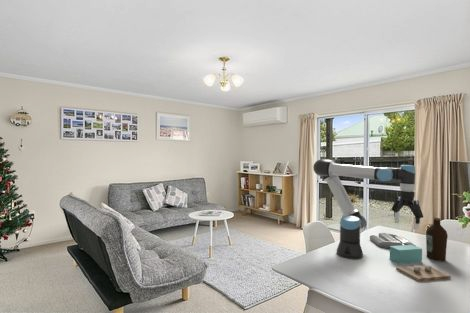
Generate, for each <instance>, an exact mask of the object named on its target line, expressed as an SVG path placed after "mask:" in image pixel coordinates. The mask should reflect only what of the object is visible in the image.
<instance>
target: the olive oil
mask: <svg viewBox="0 0 470 313" xmlns="http://www.w3.org/2000/svg"><path fill="white" fill-rule="evenodd" d="M448 237H449V236H448V232H447V230H446V228H444V227H443V226H442V225H441V218H440V217H433V224H431V225H430V226H428V227H427V229H426V231H425V241H426V242H425V243H426V258H427V259H429V260H432V261H436V262H445V261H446V259H447V258H446V257H447V244H448Z"/></svg>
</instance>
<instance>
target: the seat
mask: <svg viewBox="0 0 470 313" xmlns="http://www.w3.org/2000/svg"><path fill="white" fill-rule="evenodd" d="M395 270H396V271H397V272H400V273H402V274H403V275H404V276H407V277H409V278H411V279H412V280H414V281H416V282H430V281H441V280H449V279H451V278H452V275H451V274H449V273H446V272H443V271H442V270H440V269H437V268H435V267H432V266H431V265H429V264H418V265H417V264H416V265H405V266H396V267H395Z"/></svg>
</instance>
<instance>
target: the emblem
mask: <svg viewBox="0 0 470 313" xmlns="http://www.w3.org/2000/svg"><path fill="white" fill-rule="evenodd" d="M369 240H370V241H371V242H373V243H374V244H375V245H376V246H378V247H380V248H384V249H388V250H390V246H400V245H414V246H416V247H418V246H417V245H416V244H414V243H413V242H411V241H409V240H408V239H406V238H405V237H402V236H401V235H398V234H397V235H396V234H393V233H387V232H382V233H381V232H379V233H378V236H377V235H375V234H374V235H373V234H371V235H369Z"/></svg>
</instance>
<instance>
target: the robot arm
mask: <svg viewBox="0 0 470 313" xmlns="http://www.w3.org/2000/svg"><path fill="white" fill-rule="evenodd" d="M313 172H314V174H316V175H317V176H319V177H321V178H322V181H324V182H326V184H327V185H328V188H329V190H330V191H331V193H332V195H333V197H334V199H335V201H336V203H337V205H338V207H339V209H340V211H341V214H342V215H341V218H340V220H339V221H340V222H339V243H338V246H337V247H336V248H337V249H336V254H337V255H338V256H339V257H342V258H345V259H349V260H359V259H360V260H361V259H362V258H363V256H364V252H363V248H362V247H361V246H362V245H361V234H362V233H363V232H364V231H365V230H366V228H367V225H368V224H367V220H366V218H365V217H364V216H363V215H362V214H361V212H360V210H358V209H356V208H355V206H354V204H353V202H352V200H351V198H350V196H349V194H348V193H347V190H346V189H345V187H344V185H343V183H342V181H341V179H340V177H349V178H357V179H365V180H373V181H374V180H375V181H381V182H389V181H390V180H393V181H399V196H396V197H395V201H394V203H393V204H392V207H391V209H390V210H391V211H393V218H394V224H400V210H402V208H403V207H408V208H409V209H410V210H411V212H412V214H413V216H414V217H413V230H419V229H420V228H419V226H420V224H421V222H420V221H421V219H422V218H424V214H423V211H422V209H421V206H420V202H419V200H414V198H415V193H416V192H415V189H416V188H415V187H416V167H415V165H411V164H401V165H400V167H390V166H389V167H386V166H383V167H382V166H380V167H377V166H375V167H374V166H364V165H355V164H354V165H353V164H345V163H342V164H341V163H336V162H335V161H334V160H332V159H329V158H326V159H325V158H324V159H323V158H321V159H318V160H316V161H315V162H314V164H313Z"/></svg>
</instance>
